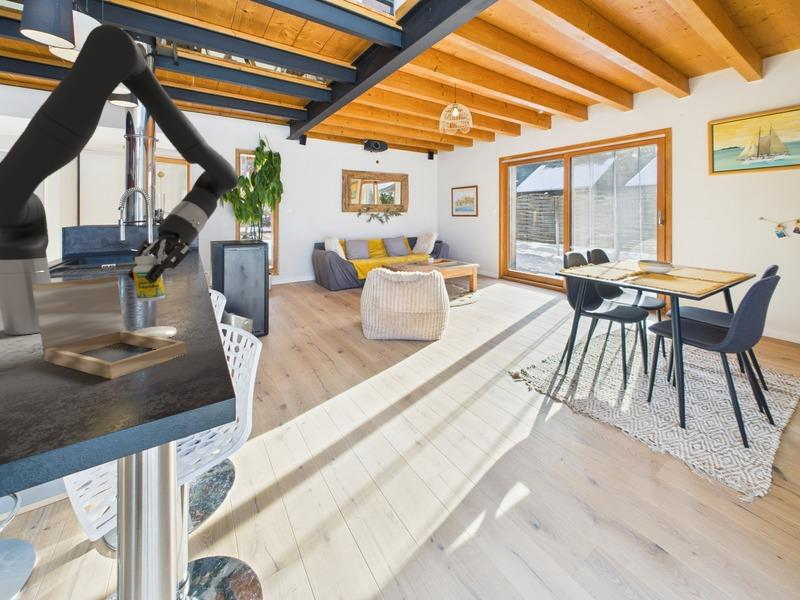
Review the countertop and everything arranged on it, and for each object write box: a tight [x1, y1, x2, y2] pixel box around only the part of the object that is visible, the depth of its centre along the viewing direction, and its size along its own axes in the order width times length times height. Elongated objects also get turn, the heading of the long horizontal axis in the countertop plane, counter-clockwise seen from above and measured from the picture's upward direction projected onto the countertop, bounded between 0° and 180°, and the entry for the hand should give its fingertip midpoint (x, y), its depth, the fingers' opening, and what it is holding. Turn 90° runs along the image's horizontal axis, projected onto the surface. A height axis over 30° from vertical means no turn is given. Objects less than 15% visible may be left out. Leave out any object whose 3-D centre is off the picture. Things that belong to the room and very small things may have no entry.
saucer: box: [132, 325, 178, 338], centre depth 86 cm, size 9×9×1 cm
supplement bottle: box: [132, 255, 166, 302], centre depth 83 cm, size 5×5×10 cm
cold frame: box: [31, 275, 188, 380], centre depth 71 cm, size 20×14×14 cm
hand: (140, 279), depth 82 cm, fingers closed on supplement bottle, 5 cm apart
